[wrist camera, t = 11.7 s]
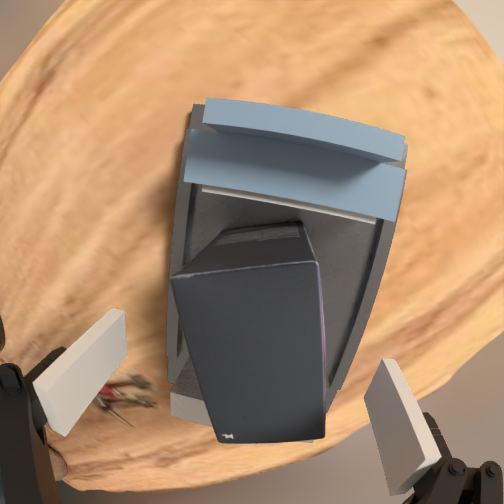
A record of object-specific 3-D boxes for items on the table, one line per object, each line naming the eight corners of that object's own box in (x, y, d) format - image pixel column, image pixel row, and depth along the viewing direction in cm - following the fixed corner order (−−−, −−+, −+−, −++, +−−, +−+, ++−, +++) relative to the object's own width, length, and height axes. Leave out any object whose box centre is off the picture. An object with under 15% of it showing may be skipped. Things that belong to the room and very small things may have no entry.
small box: (318, 345, 23) (330, 443, 13) (241, 351, 24) (214, 446, 14) (307, 217, 21) (326, 260, 11) (217, 228, 22) (160, 277, 12)
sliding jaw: (206, 185, 21) (160, 193, 13) (216, 122, 19) (175, 96, 12) (370, 216, 20) (413, 241, 12) (381, 153, 19) (432, 145, 11)
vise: (171, 376, 27) (149, 415, 21) (197, 106, 20) (167, 86, 14) (326, 406, 26) (330, 450, 20) (403, 145, 19) (439, 138, 13)
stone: (29, 422, 42) (10, 450, 35) (27, 432, 35) (7, 462, 28) (71, 455, 45) (53, 482, 38) (76, 468, 38) (57, 497, 32)
